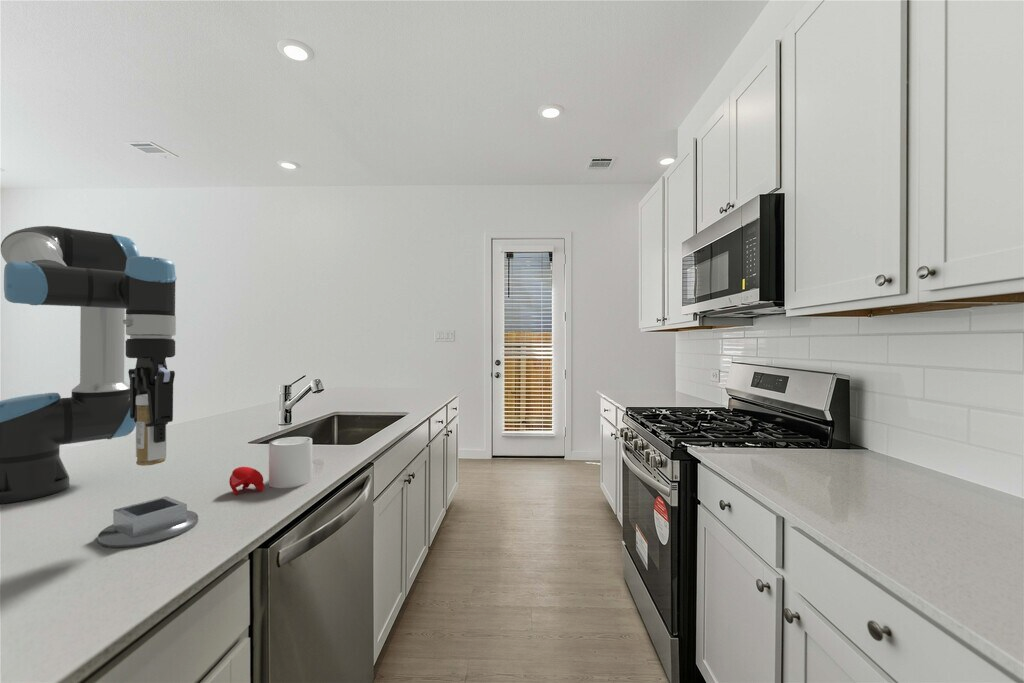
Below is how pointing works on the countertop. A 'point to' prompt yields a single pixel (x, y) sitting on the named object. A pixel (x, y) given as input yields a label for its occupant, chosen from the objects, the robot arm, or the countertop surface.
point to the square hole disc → (147, 523)
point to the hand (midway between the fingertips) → (150, 456)
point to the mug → (290, 462)
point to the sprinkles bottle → (143, 431)
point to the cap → (246, 479)
